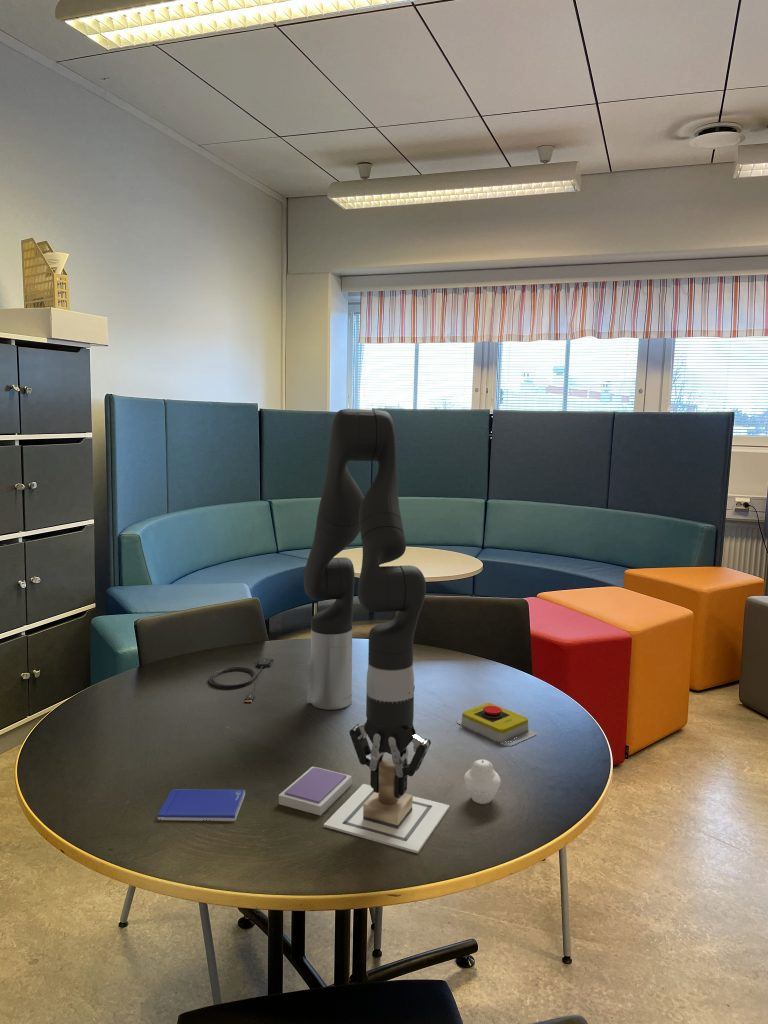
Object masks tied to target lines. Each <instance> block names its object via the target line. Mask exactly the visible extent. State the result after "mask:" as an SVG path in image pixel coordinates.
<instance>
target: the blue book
mask: <svg viewBox="0 0 768 1024" xmlns="http://www.w3.org/2000/svg"><path fill="white" fill-rule="evenodd" d="M245 796H246V790H245V789H203V788H201V789H198V788H196V789H193V788H192V789H191V788H190V789H188V788H187V789H185V788H183V789H181V788H178V789H176V788H175V789H171V791H170V792H169V794H168V796H167V797H166V799H165V802H164V803H163V805H162V806H161V808H160V810H159V811H158V814H157V820H158V819H159V820H158V821H194V822H195V821H196V822H199V821H200V822H202V821H203V820H204V821H203V822H205V821H206V820H207V821H206V822H211V821H212V822H213V821H214V822H236V820H237V817H238V815H239V812H240V809H241V807H242V804H243V802H244V800H245V799H244V798H245ZM160 819H161V820H160ZM209 820H210V821H209Z"/></svg>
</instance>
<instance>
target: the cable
mask: <svg viewBox="0 0 768 1024" xmlns="http://www.w3.org/2000/svg"><path fill="white" fill-rule="evenodd" d="M273 664H274V658H272V657H271V658H269V657H265V658H264V657H258V658H257V662H256V664H255V667H256V668H259V670H258V671H257V673H256V672H255V671H254V670H253V669H251V668H248V667H245V666H230V667H225V668H221V669H219V670H217V671H215V672H214V673H212V674H211V675H209V677H208V682H209V684H211V685H212V686H213V685H214V686H213V687H215V686H216V688H218V687H220V688H219V689H223V688H228V689H227V690H231V689H230V688H234V689H239V687H240V688H243V687H246V686H250V685H251V684H252V683H254V688H253V689H252V691H251V692H250V693H248V694H247V695H246V696H245V698H244V701H243V704H252V703H253V702H254V700H255V699H256V695H255V693H254V692H255V689H256V687H257V686H256V685H257V683H256V681H255V680H256V679H257V676H258V675H259V674H260V673H261V671H262V670H263V669H265V668H266V669H267V668H270V667H271V666H272V665H273ZM229 672H245V673H248V674H250V675H251V676H252V677H251V678H250V679H249V680H247V681H244V682H241V683H236V684H225V683H224V684H223V683H218V682H217V681H215V679H216V678H217V677H218V676H220V675H221V674H225V673H229ZM214 678H215V679H214ZM252 701H253V702H252Z"/></svg>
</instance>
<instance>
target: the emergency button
mask: <svg viewBox="0 0 768 1024" xmlns="http://www.w3.org/2000/svg"><path fill="white" fill-rule="evenodd" d="M456 723H458V724H457V725H459V724H460V725H459V726H461V725H462V726H461V727H463V728H466V727H467V728H466V729H468V730H470V729H471V731H472V730H473V732H474V731H475V733H476V734H479V733H480V734H479V735H481V736H483V735H484V737H485V736H486V737H485V738H488V739H490V740H492V739H493V740H492V741H494V740H495V742H496V741H497V743H499V742H500V744H501V743H503V744H505V745H508V746H507V747H512V746H511V743H512V744H514V743H513V741H515V740H516V741H518V740H519V741H518V742H521V741H523V740H524V739H525V741H527V740H529V739H528V738H530V737H532V736H534V737H536V736H537V735H536V734H537V732H535V731H533V730H531V729H529V719H528V717H527V716H524V715H522V714H519V713H516V712H514V711H512V710H508V709H506V708H504V707H502V706H500V705H496V704H494V703H491V702H486V703H483V704H480V705H478V706H475V707H473V708H469V709H467V710H464V711H463V712H462V713H461V719H458V720H457V721H456ZM535 735H536V736H535ZM516 737H517V738H516ZM514 738H515V739H514ZM532 738H533V737H532ZM522 739H523V740H522ZM526 739H527V740H526ZM530 739H531V738H530ZM520 740H521V741H520ZM505 741H506V742H507V743H506V742H505ZM508 741H509V742H508ZM510 741H512V742H510ZM516 741H515V744H516V743H518V742H516ZM523 742H524V741H523ZM508 743H509V744H508ZM521 743H522V742H521ZM503 744H502V745H503ZM515 744H514V746H516V745H517V744H516V745H515ZM518 744H519V743H518ZM505 745H504V746H505ZM509 745H510V746H509Z"/></svg>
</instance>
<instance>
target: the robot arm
mask: <svg viewBox="0 0 768 1024" xmlns="http://www.w3.org/2000/svg"><path fill="white" fill-rule="evenodd" d="M330 432H331V433H330V441H329V447H328V449H329V450H328V458H327V465H326V466H327V467H326V472H325V473H326V474H325V479H324V484H323V490H322V493H321V497H320V501H319V504H318V512H317V516H316V523H315V530H314V536H313V541H312V545H311V549H310V552H309V554H308V558H307V561H306V565H305V568H304V575H303V588H304V593H305V595H306V596H307V597H308V598H309V599H310V600H314V601H327V600H335V601H334V602H333V603H332V604H331V605H330V606H328V607H327V608H324V609H323V610H321V611H318V612H316V613H314V615H313V616H312V617H311V620H310V660H309V661H307V665H306V666H307V671H306V672H307V673H306V675H307V679H306V680H307V684H306V685H307V686H306V687H307V688H306V689H307V690H306V691H307V692H306V693H307V696H306V698H307V700H306V703H307V704H310V703H311V704H310V705H312V706H313V707H315V708H316V709H317V708H318V709H320V710H331V711H332V710H341V709H344V708H347V707H349V706H350V705H351V704H352V700H353V698H352V697H353V689H352V688H353V686H352V685H353V619H354V618H353V617H354V592H355V582H356V581H355V579H356V578H355V577H356V576H355V568H354V564H353V561H352V560H351V559H350V558H349V557H336V556H337V555H338V554H340V553H341V552H342V551H343V550H345V549H346V548H347V547H348V546H349V545H351V544H352V542H354V541H355V540H356V538H357V537H358V535H360V539H361V546H362V559H361V568H360V572H359V573H360V574H359V579H358V583H357V599H358V601H359V604H360V605H361V606H362V608H363V609H364V610H366V611H367V612H369V613H386V612H390V613H391V612H397V614H396V616H395V617H393V619H391V620H388V621H386V622H383V623H379V624H377V625H375V626H373V627H371V628H370V630H369V633H368V652H367V653H368V659H367V661H368V663H367V664H368V665H367V671H366V695H365V696H366V700H365V701H366V702H365V703H366V707H365V710H366V711H365V712H366V714H365V716H366V721H365V722H364V724H360V723H357V724H356V725H355V726H354V727H352V728H351V729H350V730H349V735H350V739H351V741H352V744H353V748H354V750H355V753H356V755H357V758H358V762H359V763H360V765H362V766H367V767H368V768H369V770H370V782H369V783H370V784H369V785H371V788H373V792H376V793H378V789H379V763H380V762H381V761H383V760H384V757H385V753H387V754H389V755H391V760H392V761H393V763H394V764H395V770H396V776H395V798H400V797H401V796H403V794H404V793H406V792H407V790H408V777H412V776H414V775H415V773H416V772H417V771H418V770H419V769H420V767H421V765H422V763H423V761H424V759H425V756H426V755H427V752H428V750H429V748H430V746H431V743H432V742H431V739H429V738H422V737H420V736H419V735H417V731H416V729H415V727H414V717H415V715H414V714H415V712H414V709H415V708H414V707H415V705H414V703H415V702H414V701H415V699H414V698H415V689H416V688H415V674H414V673H415V672H414V637H415V632H416V628H417V624H418V621H419V620H418V619H419V617H420V614H421V611H422V607H423V605H424V603H425V602H424V601H425V598H426V593H427V583H426V578H425V576H424V574H423V572H422V571H421V570H420V568H418V567H417V566H416V565H415V566H414V565H387V566H385V565H383V564H388V563H391V562H393V561H396V560H398V559H400V558H401V557H402V556H403V555H404V554H405V552H406V550H407V549H406V548H407V542H406V541H407V540H406V538H405V537H406V536H405V533H404V525H403V520H402V516H401V509H400V502H399V479H398V455H397V454H398V452H397V438H396V427H395V424H394V419H393V418H392V415H391V414H390V413H389V412H388V411H386V410H379V409H366V408H365V409H362V408H343V409H340V410H338V411H337V412H336V414H335V415H334V418H333V421H332V425H331V431H330ZM350 461H353V462H355V461H358V462H377V463H378V466H377V468H378V470H377V472H376V476H375V477H374V480H373V482H372V483H371V485H370V486H369V489H367V490H366V493H365V495H364V494H363V493H362V491H361V489H360V487H359V485H358V484H357V483H356V481H355V479H354V478H353V477H352V475H351V473H350V470H349V467H348V466H347V464H348V463H349V462H350ZM381 565H383V566H381ZM367 737H368V738H367ZM368 739H369V740H370V742H371V744H372V746H371V747H370V744H369V741H368ZM411 743H412V745H413V747H412V749H413V752H414V754H413V756H412V759H411V761H410V763H409V761H408V756H409V750H408V746H409V745H410V744H411Z"/></svg>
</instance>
